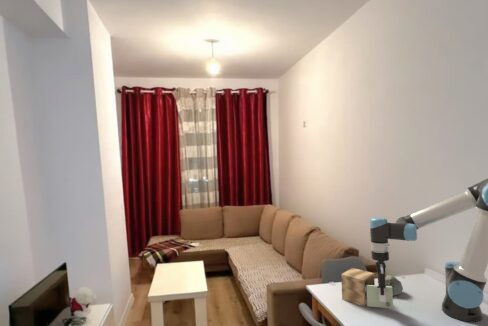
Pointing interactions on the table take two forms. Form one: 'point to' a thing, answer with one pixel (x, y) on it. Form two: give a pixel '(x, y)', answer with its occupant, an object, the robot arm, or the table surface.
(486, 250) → the robot arm
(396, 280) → the stone
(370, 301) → the door
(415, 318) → the table surface
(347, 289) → the cabinet
